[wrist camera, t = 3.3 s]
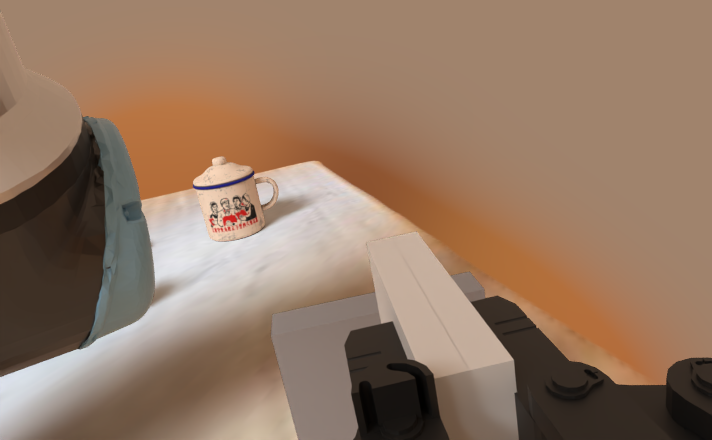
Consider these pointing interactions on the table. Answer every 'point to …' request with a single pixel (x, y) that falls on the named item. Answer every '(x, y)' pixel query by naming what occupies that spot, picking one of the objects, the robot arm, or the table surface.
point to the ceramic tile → (329, 360)
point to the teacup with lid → (231, 200)
